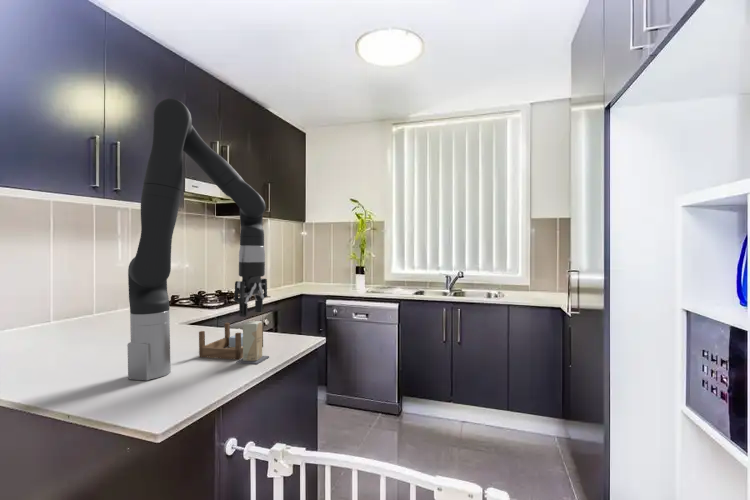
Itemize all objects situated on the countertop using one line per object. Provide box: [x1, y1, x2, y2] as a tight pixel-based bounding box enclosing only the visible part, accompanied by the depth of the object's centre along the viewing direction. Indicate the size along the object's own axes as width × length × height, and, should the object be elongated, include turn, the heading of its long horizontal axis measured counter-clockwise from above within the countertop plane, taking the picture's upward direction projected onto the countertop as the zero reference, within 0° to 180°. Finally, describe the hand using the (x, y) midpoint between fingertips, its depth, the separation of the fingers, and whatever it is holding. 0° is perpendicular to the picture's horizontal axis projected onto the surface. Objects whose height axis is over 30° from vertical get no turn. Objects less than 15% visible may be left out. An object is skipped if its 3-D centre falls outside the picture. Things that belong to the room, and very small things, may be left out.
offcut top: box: [228, 332, 243, 348], centre depth 123 cm, size 6×4×3 cm, turn 164°
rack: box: [198, 322, 264, 361], centre depth 124 cm, size 14×14×8 cm
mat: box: [235, 355, 270, 365], centre depth 115 cm, size 7×7×1 cm
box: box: [242, 320, 263, 361], centre depth 115 cm, size 5×4×11 cm
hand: (251, 314), depth 114 cm, fingers open, 8 cm apart
